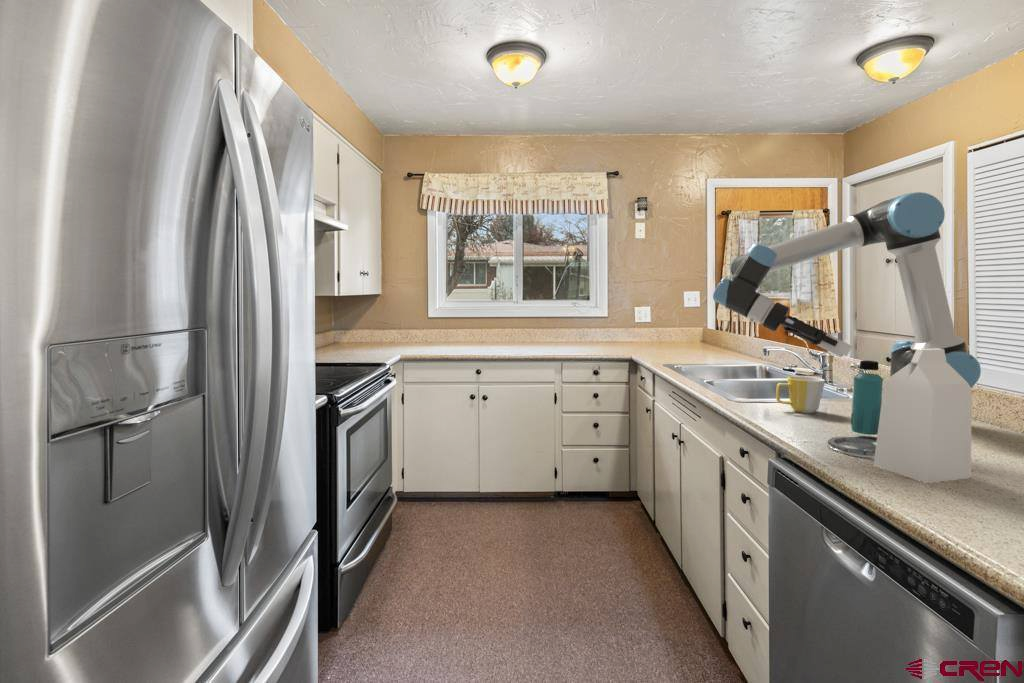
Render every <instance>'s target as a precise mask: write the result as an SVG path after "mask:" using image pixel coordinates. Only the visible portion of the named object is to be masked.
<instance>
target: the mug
mask: <svg viewBox="0 0 1024 683" xmlns="http://www.w3.org/2000/svg"><path fill="white" fill-rule="evenodd" d="M825 383H826V380H825V379H823V378H822V377H821V378H820V377H815V376H814V377H813V376H802V375H796V376H795V375H794V376H792V375H791V376H787V382H779V383H777V384H776V391H775V399H776V402H778V403H779V404H783V405H790V407H791V408H792V409H793V410H794V412H797V413H800V414H801V413H802V414H814V413H816V411H818V410H819V408H820V405H821V401H822V395H823V392H824V387H825ZM782 386H784V387H787V388H788V393H789V401H786V400H785V401H783V400H781V399H780V389H781V387H782Z"/></svg>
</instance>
